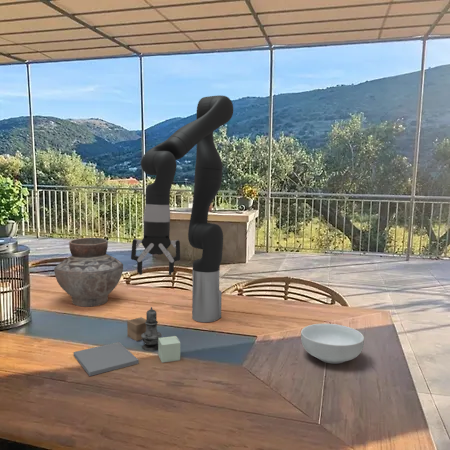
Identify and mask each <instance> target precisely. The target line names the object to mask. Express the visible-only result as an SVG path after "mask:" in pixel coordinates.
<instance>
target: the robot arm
mask: <svg viewBox="0 0 450 450" xmlns="http://www.w3.org/2000/svg"><path fill="white" fill-rule="evenodd" d="M233 115H234V104H233V101H232V100H231V99H230V98H229V97H228V96H226V95H222V94H221V95H219V94H218V95H211V96H209V95H208V96H204V97H202V98H200V99H199V100H198V103H197V106H196V119H195V120H192V121H191V122H189V123H186V124H184V125H183V126H181V127H180V128H178V129H176V131H175V132H174V133H172V134H171V135H170V136H169V137H168V138H167V139H166V140H164V141H163V142H160V143H158V144H157V145H155V146H153V147H152V148H150V149H149V150H146V152H145V153H144V155H143V156H142V157H141V161H140V166H141V170H142V171H143V172H144V173H145V174H146V175H149V176H155V179H154V182H152V183H149V184H148V185H147V186H146V187H145V198H144V199H145V201H144V203H145V205H144V211H143V213H144V214H143V237H142V239H138V238H133V239H132V240H131V241H132V243H131V253H130V259H131V260H132V261H135V262H137V266H136V270H137V274H138V273H139V275H140V276H141V275H142V276H143V259H144V258H145V257H146V256H147V255H148V254H149V255H158V256H159V255H160V256H161V255H163V254H164V255H165V257H166V258H167V259H168V261H169V262H168V275H169V276H172V274H173V273H174V271H175V262H177V261H180V260H181V242H180V240H179V239H175V240H173V239H172V240H171V239H170V232H171V231H170V229H171V228H170V227H171V226H170V224H171V207H170V201H171V197H170V196H171V190H172V186H173V183H174V179H175V176H176V172H177V161H178V160H181V159H182V158H183V157H184V156H186V155H187V154H188V153H189V152H190V151H191V150H192V149H193V148H194V147H195V146H196V156H195V157H196V159H195V166H194V168H195V169H194V180H193V181H194V185H193V194H192V195H193V197H192V205H191V213H190V218H189V225H188V230H187V231H188V232H187V239H188V243H189V245H190V246H191V247H192V248H194V249H198V250H199V249H200V250H202V256H201V257H200V258H197V259H194V260H193V262H192V286H191V287H192V294H191V295H192V298H191V299H192V301H191V303H192V304H191V305H192V306H191V310H192V311H191V314H192V316H191V317H192V320H194V321H196V322H199V323H211V322H216V321H218V320H219V319H221V318H222V291H221V290H220V274H221V273H220V268H221V267H220V266H221V263H222V260H223V249H224V248H223V247H224V232H223V229H222V227H221V226H220V225H219V224H217V223H212V222H208V221H209V218H208V217H209V211H210V207H211V204H212V203H213V201H214V199H215V198H216V196H217V195H218V193H219V191H220V190H221V186H222V181H223V161H222V158H221V156H220V153H219V152H218V149H217V147H216V144H215V142H214V141H215V140H214V132H215V131H216V130H217V129H219V128H221V127H223V126H224V125H225V124H227V123H229V122H230V120H232V117H233ZM140 245H142V246H143V247H144V249H143V251H142V252H141V253H140V254H139V255H137V248H138V247H140ZM171 245H172V247H173V248H174V249H175V256H173V255H172V253H171V252H170V251H169V250H168V248H169V247H170V246H171Z"/></svg>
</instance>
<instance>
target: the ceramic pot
mask: <svg viewBox="0 0 450 450" xmlns="http://www.w3.org/2000/svg"><path fill="white" fill-rule="evenodd" d="M108 243H109V241H108V239H107V238H103V237H102V238H101V237H84V238H83V237H81V238H74V239H71V240H69V244H68V245H69V251H70V253H71V255H70V256H68V257H67V258H65V259H64V260H62V261H61V262H60V263H58V264H57V265H55V267H54V268H53V271H54V276H55V279H56V281H57V283H58V285H59V286H60V288H61V289H62V290H63V291H64V292H65V293H66V294H68V295H69V297H71V303H72V305H75V306H78V307H84V308H86V307H87V308H88V307H89V308H90V307H97V306H102V305H105V304H106V303H107V302H108V299H109V294H111V293H112V292H113V291H114V289H115V288H116V287H117V285H118V284H119V282H120V281H121V277H122V276H123V271H124V264H123V262H122V261H120V260H119V259H117V258H115V257H114V256H112V255H111V254H110V255H109V254H107V251H108Z"/></svg>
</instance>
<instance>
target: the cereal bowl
mask: <svg viewBox="0 0 450 450" xmlns="http://www.w3.org/2000/svg"><path fill="white" fill-rule="evenodd" d="M300 339H301V345H302V347H303V348H304V350H305V351H306V352H307V353H308V354H309V355H310V356H312V357H315V358H317V359H318V360H319V361H322V362H323V363H327V364H342V363H345V362H349V361H351V360H354V359H356V358H357V357H358V356H359V355H361V353H362V351H363V348H364V344H365V337H364V335H363V334H362V333H361V331H359V330H357V329H355V328H353V327H349V326H346V325H342V324H336V323H315V324H309V325H307V326H305V327H303V328H302V329H301V331H300Z"/></svg>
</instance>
